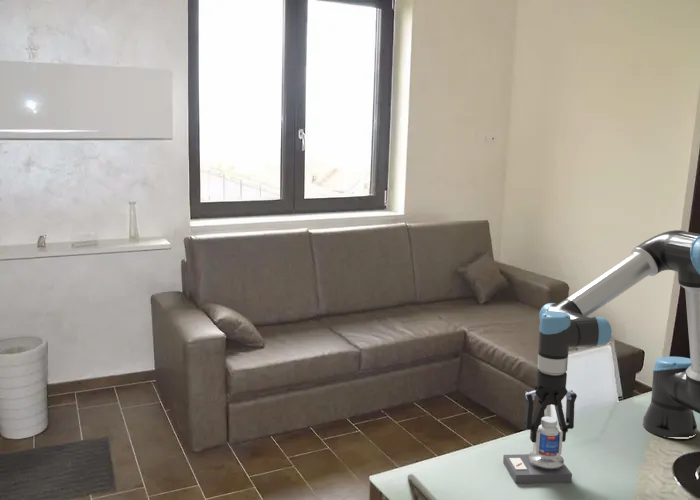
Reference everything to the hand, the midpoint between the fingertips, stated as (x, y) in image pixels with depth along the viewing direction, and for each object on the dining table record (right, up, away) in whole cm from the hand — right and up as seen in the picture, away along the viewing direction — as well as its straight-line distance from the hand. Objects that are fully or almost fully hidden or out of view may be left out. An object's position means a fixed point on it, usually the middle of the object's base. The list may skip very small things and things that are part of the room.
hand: (546, 452), depth 171 cm
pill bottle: (0, 0, 0) cm, 1 cm away
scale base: (-3, -6, +1) cm, 6 cm away
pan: (0, -3, 0) cm, 3 cm away
